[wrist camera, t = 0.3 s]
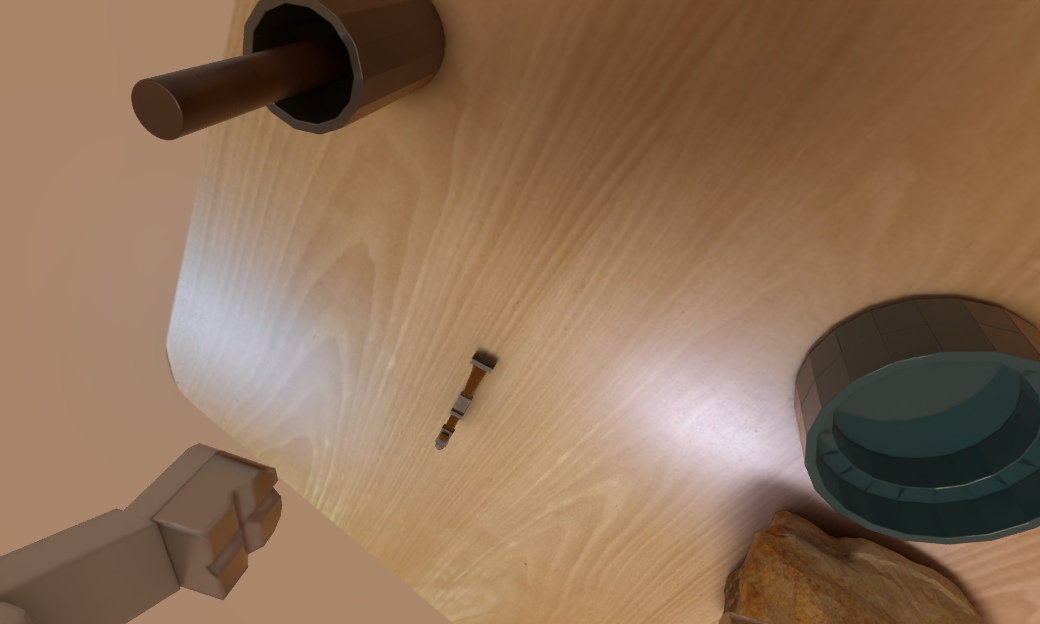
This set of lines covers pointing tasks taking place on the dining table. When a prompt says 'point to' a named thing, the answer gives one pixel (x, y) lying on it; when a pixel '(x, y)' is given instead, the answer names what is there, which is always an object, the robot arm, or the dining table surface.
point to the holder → (352, 54)
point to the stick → (236, 85)
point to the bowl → (926, 421)
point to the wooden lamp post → (464, 398)
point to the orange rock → (838, 581)
